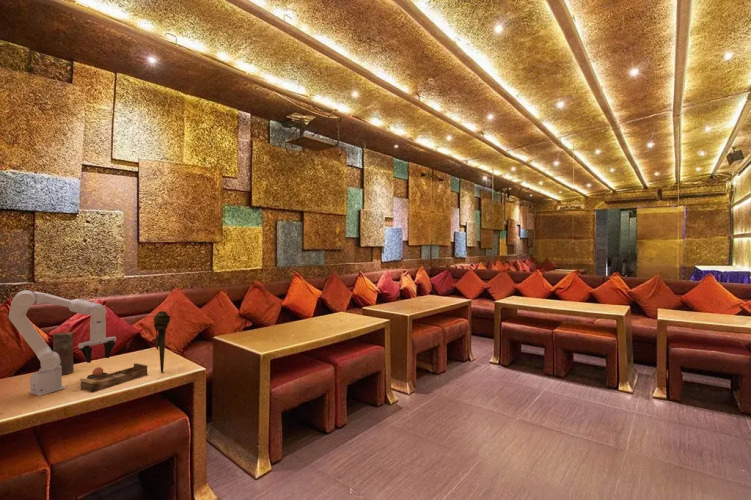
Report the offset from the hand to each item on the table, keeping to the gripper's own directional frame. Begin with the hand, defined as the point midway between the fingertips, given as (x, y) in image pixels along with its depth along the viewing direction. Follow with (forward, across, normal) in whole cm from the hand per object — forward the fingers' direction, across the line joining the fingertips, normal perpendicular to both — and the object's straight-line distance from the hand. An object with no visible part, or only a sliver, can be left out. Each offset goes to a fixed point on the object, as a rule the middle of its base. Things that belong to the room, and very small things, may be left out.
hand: (98, 360), depth 164 cm
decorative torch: (+10, +19, -17) cm, 27 cm away
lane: (+9, +2, -9) cm, 13 cm away
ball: (+5, 0, 0) cm, 5 cm away
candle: (+10, -1, +27) cm, 29 cm away
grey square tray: (+9, 0, 0) cm, 9 cm away
